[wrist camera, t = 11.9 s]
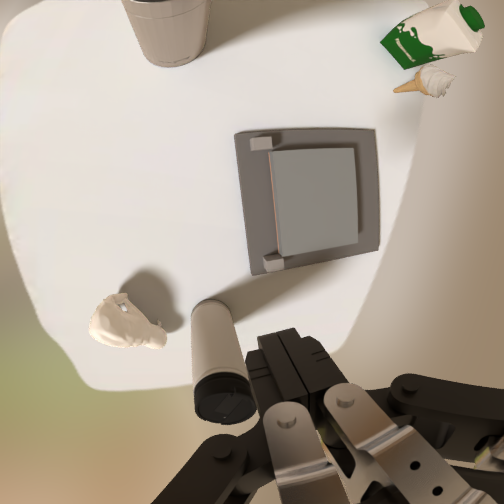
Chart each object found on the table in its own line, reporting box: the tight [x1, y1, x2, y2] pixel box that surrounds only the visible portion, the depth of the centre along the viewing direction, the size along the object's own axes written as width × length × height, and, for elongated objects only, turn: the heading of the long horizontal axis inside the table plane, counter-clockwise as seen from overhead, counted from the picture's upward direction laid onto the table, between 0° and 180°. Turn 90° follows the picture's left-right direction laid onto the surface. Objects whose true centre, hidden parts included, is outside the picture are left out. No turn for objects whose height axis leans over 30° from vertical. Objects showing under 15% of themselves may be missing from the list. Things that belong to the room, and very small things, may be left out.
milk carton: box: [380, 0, 485, 70], centre depth 25 cm, size 9×9×20 cm
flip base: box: [234, 129, 379, 276], centre depth 38 cm, size 20×22×3 cm
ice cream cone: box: [393, 64, 456, 98], centre depth 30 cm, size 6×6×15 cm
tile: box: [268, 148, 358, 257], centre depth 37 cm, size 14×2×12 cm
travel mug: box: [191, 300, 257, 425], centre depth 32 cm, size 6×7×20 cm
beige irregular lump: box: [89, 293, 167, 349], centre depth 36 cm, size 6×8×12 cm
